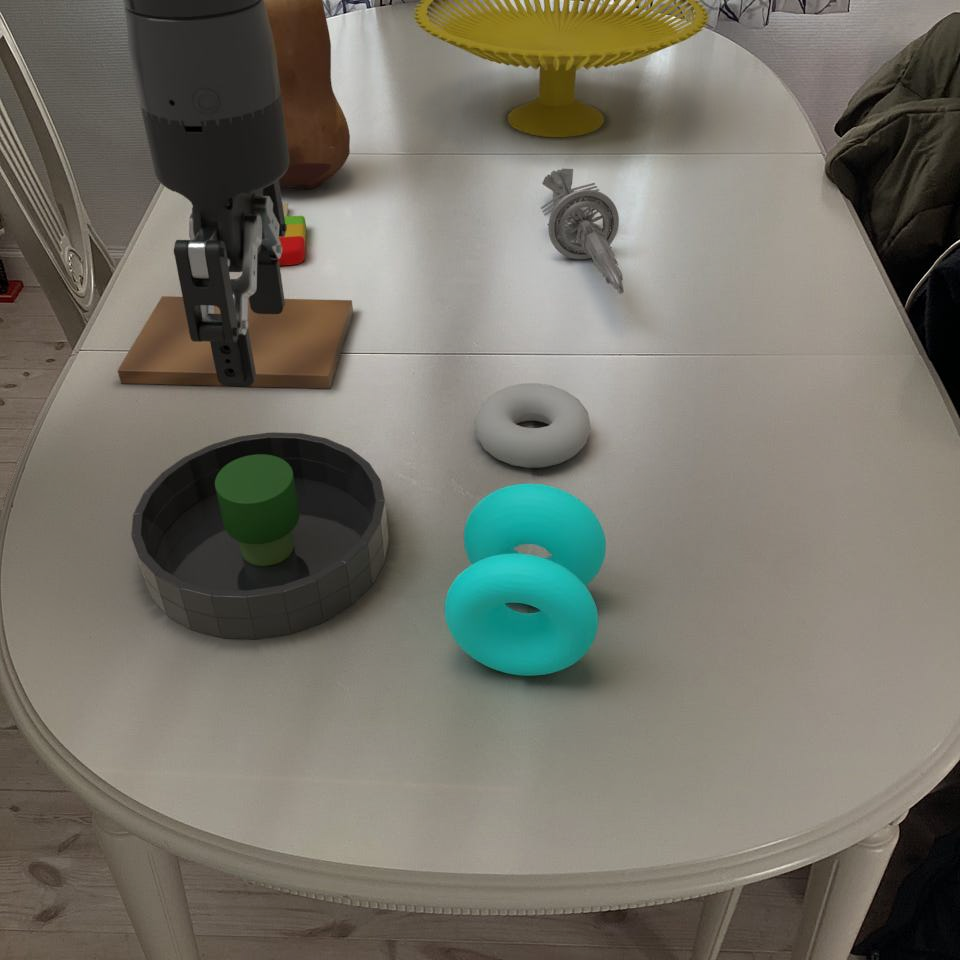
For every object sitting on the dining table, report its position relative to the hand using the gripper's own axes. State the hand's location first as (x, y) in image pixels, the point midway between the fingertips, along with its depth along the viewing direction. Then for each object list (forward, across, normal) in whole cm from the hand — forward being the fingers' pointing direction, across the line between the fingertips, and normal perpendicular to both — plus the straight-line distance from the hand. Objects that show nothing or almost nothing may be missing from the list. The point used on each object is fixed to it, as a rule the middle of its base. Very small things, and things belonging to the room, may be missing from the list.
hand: (254, 345), depth 65 cm
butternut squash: (+19, -69, -13) cm, 73 cm away
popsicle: (+19, -54, -12) cm, 58 cm away
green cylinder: (+19, -1, -2) cm, 19 cm away
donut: (+19, -16, +18) cm, 31 cm away
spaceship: (+19, -50, +23) cm, 58 cm away
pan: (+19, -1, -2) cm, 19 cm away
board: (+19, -30, -11) cm, 37 cm away
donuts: (+19, +6, +18) cm, 27 cm away
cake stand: (+19, -93, +20) cm, 97 cm away
